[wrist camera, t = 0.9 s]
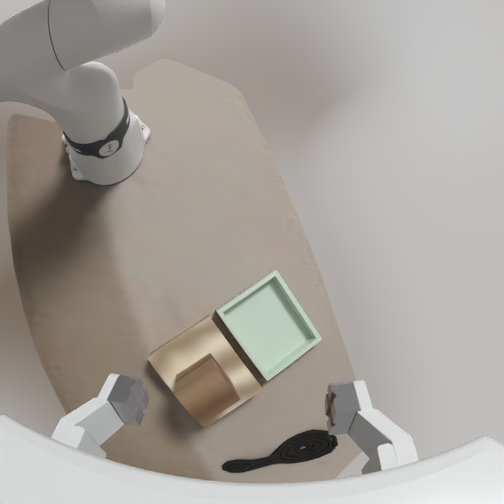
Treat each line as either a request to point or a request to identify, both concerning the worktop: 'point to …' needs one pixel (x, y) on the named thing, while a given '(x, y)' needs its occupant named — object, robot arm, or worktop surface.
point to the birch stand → (196, 347)
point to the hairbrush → (290, 451)
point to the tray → (269, 324)
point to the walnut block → (205, 389)
